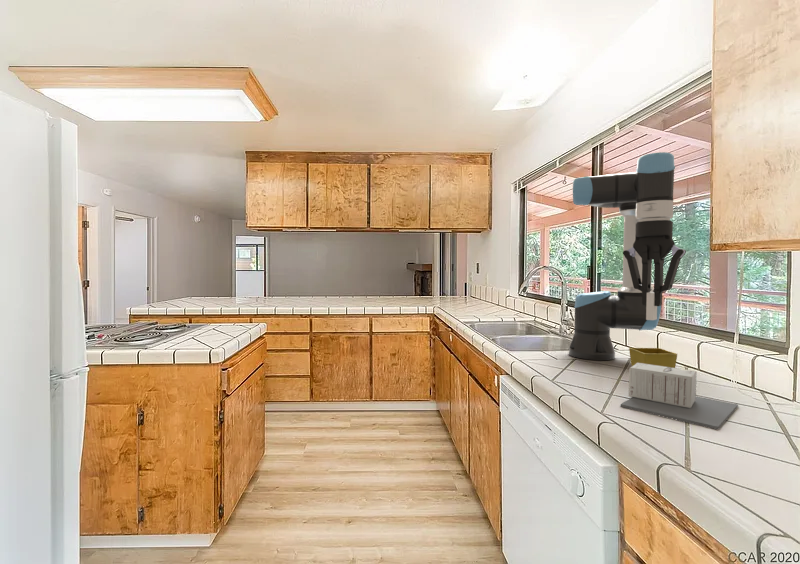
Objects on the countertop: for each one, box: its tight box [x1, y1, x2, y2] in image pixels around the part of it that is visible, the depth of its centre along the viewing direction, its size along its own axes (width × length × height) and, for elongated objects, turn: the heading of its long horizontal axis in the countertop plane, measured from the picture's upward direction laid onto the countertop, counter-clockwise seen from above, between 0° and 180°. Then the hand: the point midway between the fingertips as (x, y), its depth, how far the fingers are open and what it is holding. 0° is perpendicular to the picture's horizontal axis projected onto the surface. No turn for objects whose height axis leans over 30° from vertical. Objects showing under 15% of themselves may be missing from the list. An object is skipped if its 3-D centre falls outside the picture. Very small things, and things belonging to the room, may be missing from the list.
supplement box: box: [628, 363, 698, 408], centre depth 97 cm, size 7×7×13 cm
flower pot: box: [628, 347, 678, 368], centre depth 114 cm, size 9×9×9 cm
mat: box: [620, 395, 739, 430], centre depth 94 cm, size 20×18×1 cm
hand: (651, 319), depth 98 cm, fingers closed
